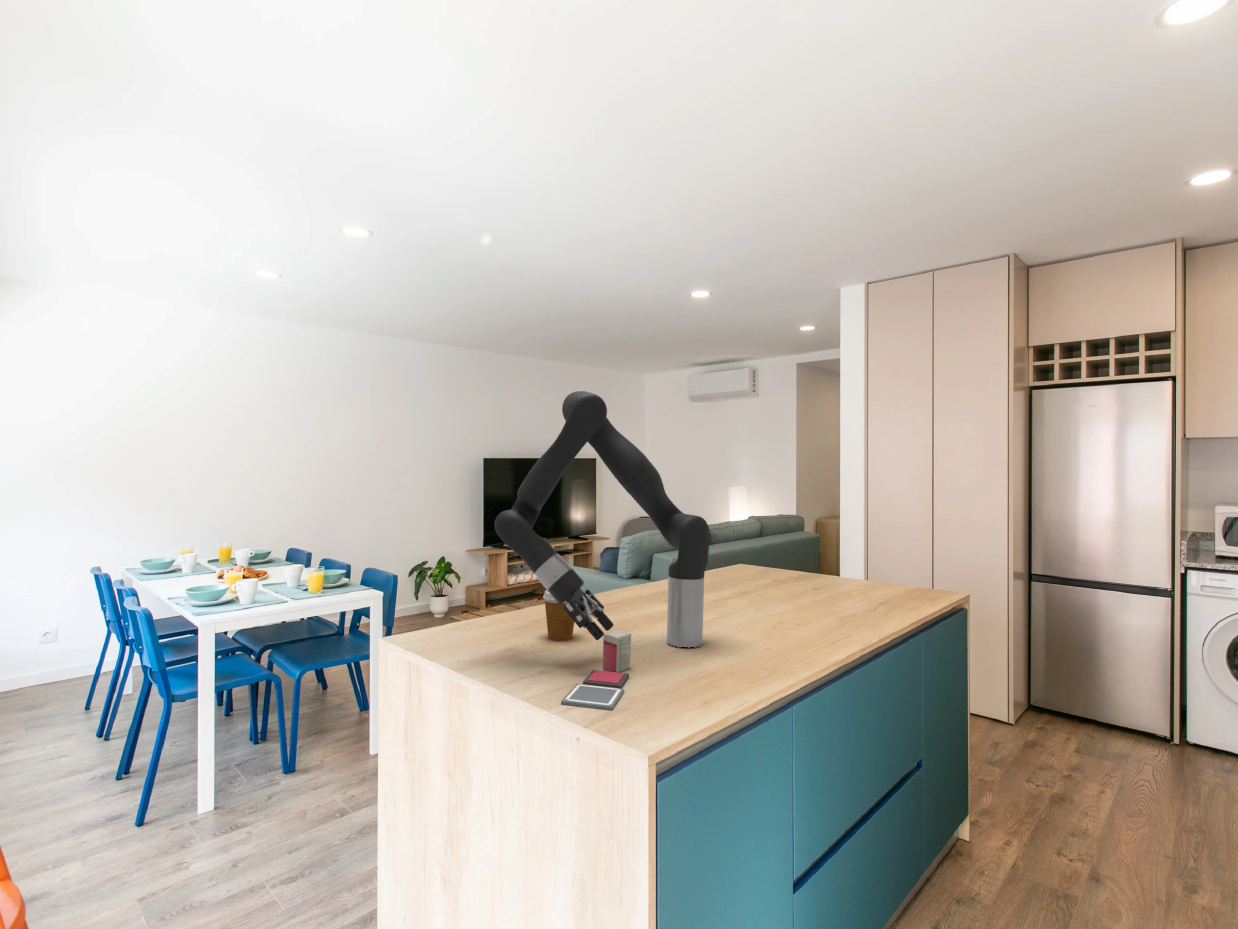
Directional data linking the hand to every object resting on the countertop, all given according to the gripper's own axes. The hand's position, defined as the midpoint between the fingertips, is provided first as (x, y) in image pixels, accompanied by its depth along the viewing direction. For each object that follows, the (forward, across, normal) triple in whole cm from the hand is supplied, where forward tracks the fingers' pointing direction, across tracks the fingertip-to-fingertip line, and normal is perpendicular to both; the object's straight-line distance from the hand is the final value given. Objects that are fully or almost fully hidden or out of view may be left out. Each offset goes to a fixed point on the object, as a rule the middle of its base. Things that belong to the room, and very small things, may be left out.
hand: (606, 632), depth 144 cm
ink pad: (+7, -9, +4) cm, 12 cm away
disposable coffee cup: (-7, +20, +18) cm, 28 cm away
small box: (+8, 0, +4) cm, 8 cm away
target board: (+7, -19, +4) cm, 21 cm away
